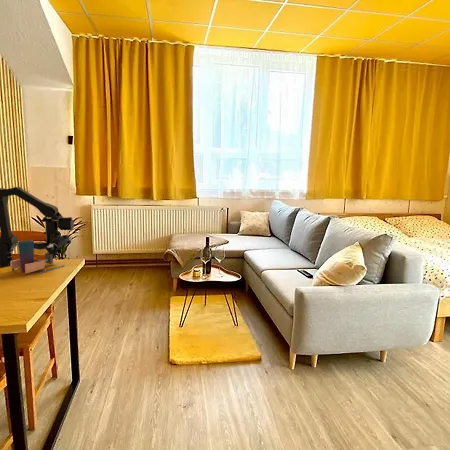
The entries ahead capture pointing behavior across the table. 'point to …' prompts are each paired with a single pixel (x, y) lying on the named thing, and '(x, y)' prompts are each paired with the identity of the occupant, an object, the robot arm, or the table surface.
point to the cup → (26, 252)
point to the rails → (50, 269)
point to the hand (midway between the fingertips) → (53, 258)
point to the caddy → (33, 264)
